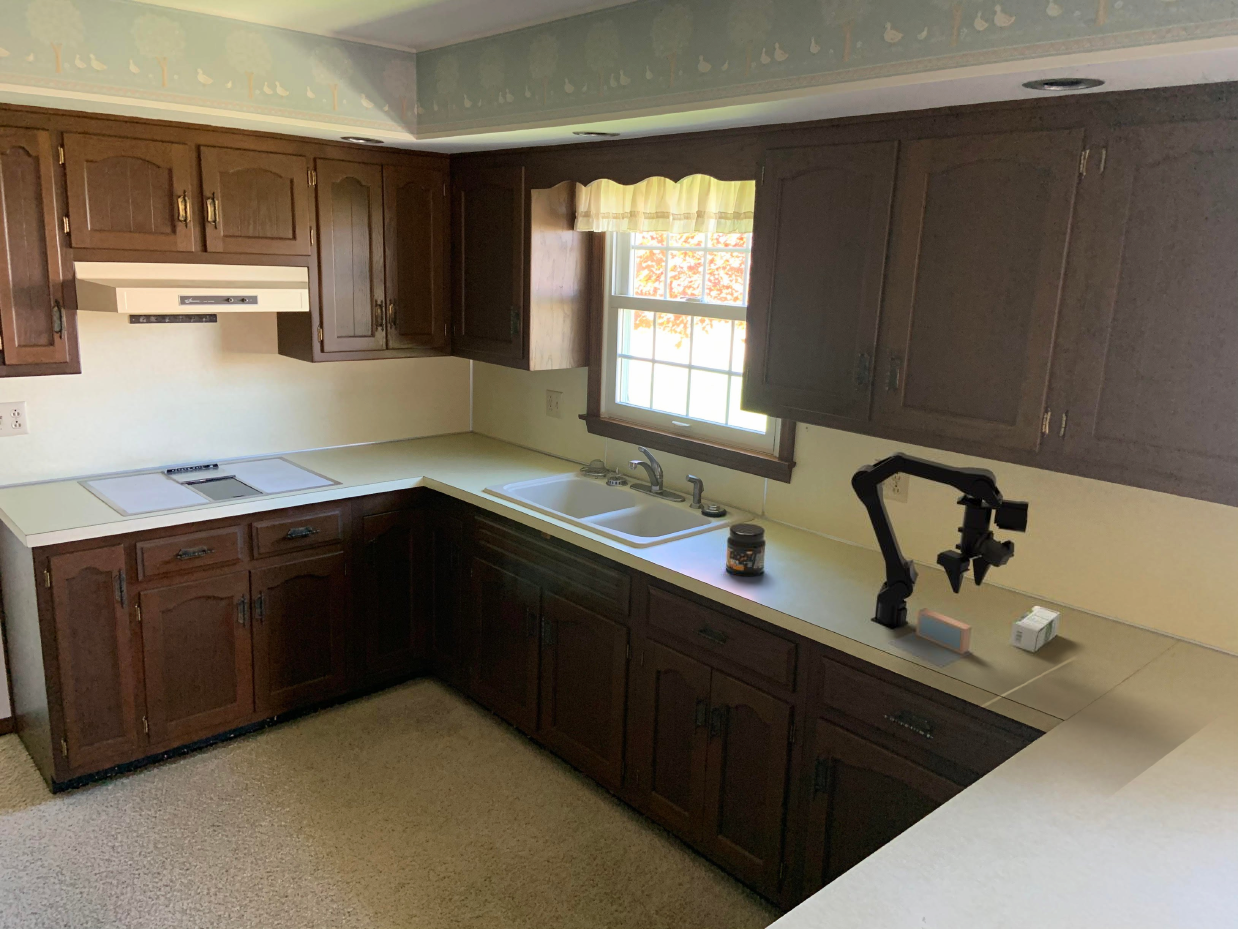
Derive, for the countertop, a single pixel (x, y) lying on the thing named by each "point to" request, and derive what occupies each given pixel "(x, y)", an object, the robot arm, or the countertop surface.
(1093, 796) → the countertop surface
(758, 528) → the supplement container
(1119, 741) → the countertop surface
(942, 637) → the tile
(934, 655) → the mat
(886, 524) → the robot arm
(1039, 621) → the syrup box
